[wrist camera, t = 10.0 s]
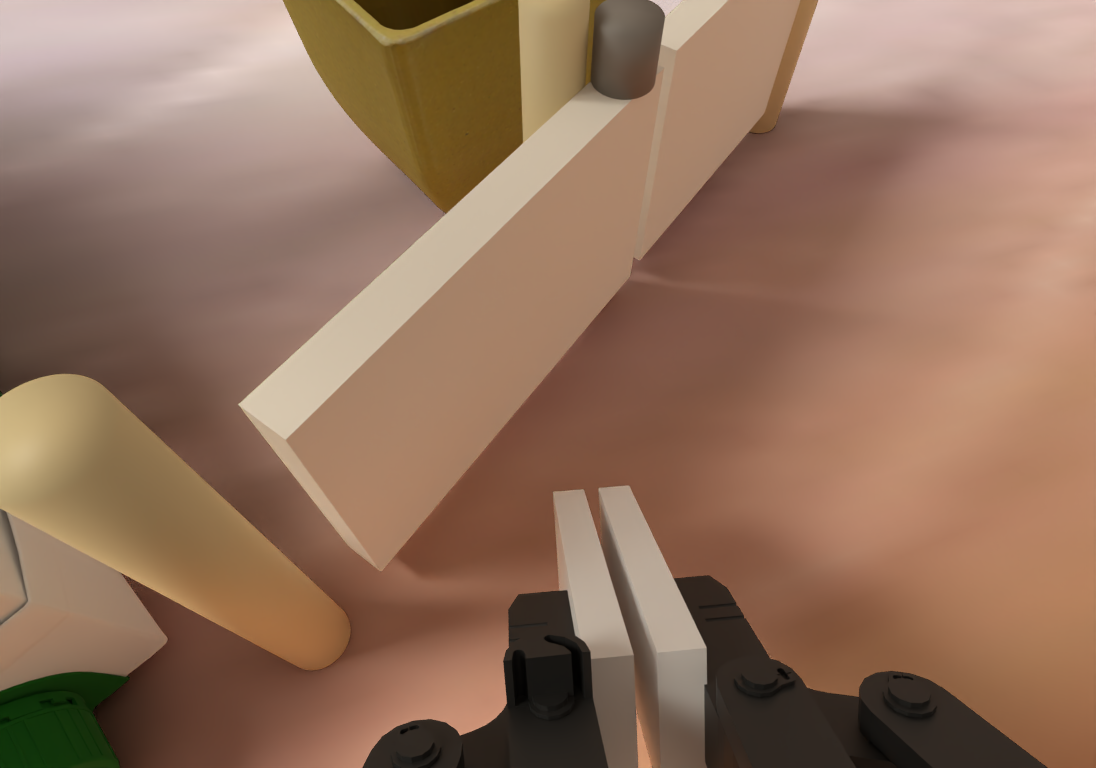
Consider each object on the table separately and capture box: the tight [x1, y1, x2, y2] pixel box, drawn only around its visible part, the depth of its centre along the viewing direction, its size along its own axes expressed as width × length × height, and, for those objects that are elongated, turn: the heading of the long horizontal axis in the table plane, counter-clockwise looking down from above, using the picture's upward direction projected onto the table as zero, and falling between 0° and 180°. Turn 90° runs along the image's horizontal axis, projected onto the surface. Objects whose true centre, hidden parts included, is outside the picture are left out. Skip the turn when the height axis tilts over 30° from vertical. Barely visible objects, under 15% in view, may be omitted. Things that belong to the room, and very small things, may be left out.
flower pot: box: [283, 0, 606, 213], centre depth 25 cm, size 9×9×9 cm
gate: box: [238, 0, 665, 572], centre depth 17 cm, size 13×2×10 cm, turn 145°
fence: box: [0, 0, 818, 670], centre depth 19 cm, size 28×3×12 cm, turn 145°
